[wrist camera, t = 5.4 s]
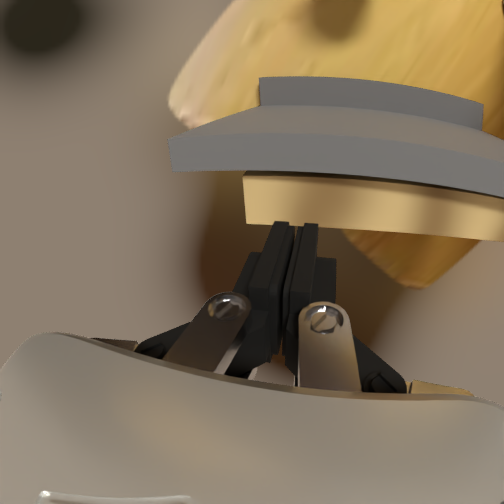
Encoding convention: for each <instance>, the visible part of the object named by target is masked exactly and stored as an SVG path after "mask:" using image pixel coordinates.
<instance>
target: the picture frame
mask: <svg viewBox="0 0 504 504" xmlns="http://www.w3.org/2000/svg"><path fill="white" fill-rule="evenodd" d="M243 188H244V200H245V212H246V223H247V224H264V225H273V223H274V221H287V222H289V224H290V225H292V226H304V223H317V224H318V227H328V228H344V229H360V230H375V231H389V232H402V233H415V234H427V235H438V236H449V237H460V238H470V239H480V240H490V241H499V242H504V197H500V196H496V195H491V194H486V193H481V192H476V191H471V190H466V189H460V188H454V187H448V186H442V185H436V184H429V183H422V182H415V181H407V180H399V179H390V178H381V177H371V176H361V175H349V174H335V173H319V172H298V171H262V170H247V171H246V172H245V174H244V175H243Z"/></svg>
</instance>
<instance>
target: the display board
mask: <svg viewBox="0 0 504 504" xmlns="http://www.w3.org/2000/svg"><path fill="white" fill-rule="evenodd" d="M259 87H260V102H261V106H258V107H255V108H251V109H248V110H245V111H242V112H239V113H236V114H233V115H230V116H227V117H224V118H221V119H218V120H215V121H213V122H210V123H207V124H205V125H202V126H199V127H197V128H194V129H191V130H189V131H186V132H184V133H181V134H179V135H177V136H174V137H172V138H169V139H168V145H169V153H170V159H171V165H172V171H173V172H186V171H218V170H219V171H222V170H262V171H298V172H319V173H335V174H349V175H361V176H371V177H381V178H390V179H399V180H407V181H415V182H422V183H429V184H436V185H442V186H448V187H454V188H460V189H466V190H471V191H476V192H481V193H486V194H491V195H496V196H500V197H504V140H502V139H500V138H498V137H495V136H493V135H491V134H488V133H486V132H484V131H482V121H483V104H481V103H478V102H474V101H471V100H468V99H464V98H461V97H457V96H453V95H449V94H445V93H441V92H437V91H432V90H427V89H423V88H417V87H412V86H406V85H400V84H394V83H387V82H379V81H371V80H361V79H350V78H335V77H262V78H259Z"/></svg>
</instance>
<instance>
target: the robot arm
mask: <svg viewBox="0 0 504 504" xmlns="http://www.w3.org/2000/svg"><path fill="white" fill-rule="evenodd" d="M503 3H504V0H503ZM294 238H295V228H294V226H292V225H290V224H289V222H287V221H274V223H273V226H272V229H271V231H270V234H269V236H268V238H267V241H266V243H265V246H264V248H263V251H262V253H259V252H251V253H250V255H249V257H248V259H247V261H246V263H245V265H244V267H243V270H242V272H241V274H240V276H239V278H238V280H237V283H236V285H235V287H234V289H233V291H232V292H224V293H220V294H217V295H215V296H213V297H211V298H210V299H209V300H208V301H207V302H206V303H205V304H204V306H203V307H202V308H201V310H200V311H199V312H198V313H197V315H196V316H195V317H194V319H193V320H192V321H191V322H189V323H186V324H184V325H181V326H179V327H176V328H174V329H171V330H169V331H167V332H164V333H162V334H159V335H157V336H154V337H152V338H149V339H147V340H145V341H143V342H141V343H140V344H138V342H137V341H131V340H115V339H104V338H87V337H84V336H79V335H75V334H70V333H61V332H48V333H47V332H46V333H41V334H36V335H33V336H31V337H30V338H28V339H27V340H26V341H24V342H23V343H22V344H21V345H20V346H19V348H17V350H16V351H15V352H14V353H13V354H12V355H11V357H10V358H9V359H8V360H7V362H6V363H5V364H4V365H3V367H2V368H1V370H0V504H504V407H503V406H501V405H499V404H497V403H495V402H492V401H489V400H486V399H483V398H479V397H475V396H474V395H473V394H472V393H471V392H469V391H467V390H464V389H460V388H454V387H448V386H443V385H437V384H433V383H427V382H423V381H418V380H413V381H412V382H411V383H410V382H406V381H404V379H403V378H402V377H401V375H400V374H399V373H397V372H396V371H395V370H394V369H393V368H392V367H390V366H389V365H388V364H387V363H386V362H384V361H383V360H382V359H381V358H380V357H379V356H377V355H376V354H375V353H373V351H371V350H370V349H369V348H368V347H367V346H365V345H364V344H363V343H362V342H361V341H360V340H358V339H357V338H356V337H355V336H354V335H352V332H351V326H350V321H349V317H348V315H347V313H346V312H345V310H343V308H341V307H340V306H338V305H336V304H335V297H336V295H335V294H336V259H334V258H322V257H317V242H318V224H317V223H304V226H298V230H297V235H296V239H295V243H294ZM282 336H283V339H282ZM281 340H282V355H283V356H285V365H286V366H287V367H288V368H289V370H290V371H291V372H292V373H293V374H294V386H287V385H279V384H273V383H266V382H260V381H254V380H253V379H254V377H255V375H256V372H257V367H258V366H260V365H261V364H263V363H265V362H269V363H270V362H271V358H272V355H273V354H275V355H278V353H279V348H280V345H281Z"/></svg>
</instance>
